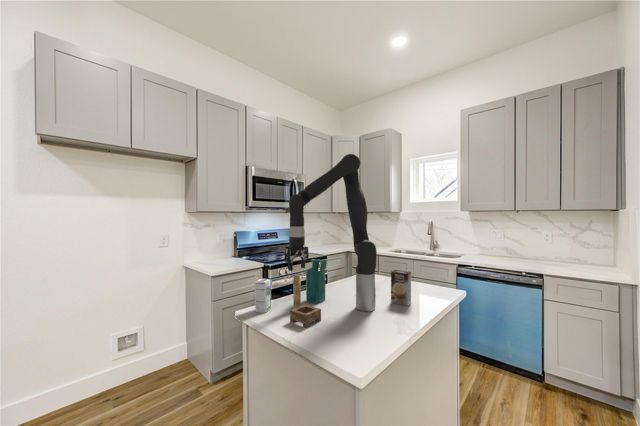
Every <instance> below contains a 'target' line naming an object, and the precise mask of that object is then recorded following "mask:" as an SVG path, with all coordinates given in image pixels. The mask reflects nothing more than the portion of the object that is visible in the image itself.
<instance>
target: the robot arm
mask: <svg viewBox="0 0 640 426" xmlns="http://www.w3.org/2000/svg"><path fill="white" fill-rule="evenodd" d="M360 166H361V160H360V157H359V156H358V155H357V154H355V153H354V154H353V153H348V154H346V155H344V156H343V157H342V159H341V160H340V161H339V162H338V163H336V165H334V166H333V167H332V168H330V170H328V171H327V172H326V173H324V174H322V175H321V176H319V177H318V178H316V179H315V180H313V181H312V182H310V183H309V184H308V185H306V186H305V187H304V188H303V189H302V190H301V191H300V192H298V193H295V194H293V195H291V196H290V198H289V200H288V203H289V204H288V206H289V207H288V208H289V231H288V237H289V238H288V246H289V248H285V249H284V259H283V260H284V262H285V263H287V270H288V271H290V272H293V270H294V269H293V268H294V266H293V265H294V264H293V263H294V260H296V258H298V257H299V259H300V268H301V269H305V268H306V260H307V259H309V247H308V246H305V245H306V244H305V242H306V240H305V239H306V237H305V235H306V234H305V233H306V231H305V215H304V209H305V206H306V205H308V203H310V202H311V201H312V200H314V199H316V198H317V197H319V196H320V195H322V194H323V193H324V192H325V191H327V190H328V189H330V187H332V185H334V184H335V183H336V182H338V181H340V180H341V179H342V178H343V182H344V188H345V198H346V199H345V200H346V206H347V212H348V216H349V222H350V227H351V231H352V237H353V238H352V241H353V250H354V253H355V254H356V256H357V265H356V267H355V309H356V310H358V311H360V312H373V311H375V310H376V269H377V259H378V258H377V256H378V255H377V252H378V251H377V247H376V245H375V243H374V242H373V241H371V240H370V239H369V234H368V229H367V228H368V227H367V224H368V208H367V206H368V205H367V201H366V198H365V194H364V191H363V189H362V186H361V183H360V177H359V169H360Z"/></svg>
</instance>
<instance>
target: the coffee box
mask: <svg viewBox="0 0 640 426" xmlns="http://www.w3.org/2000/svg"><path fill="white" fill-rule="evenodd" d="M411 290H412V272H411V271H407V270H401V269H393V270H392V271H391V272H390V303H393V304H396V305H397V304H399V305H403V306H409V305H410V304H411V303H412V299H411V298H412V291H411Z"/></svg>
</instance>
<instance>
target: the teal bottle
mask: <svg viewBox="0 0 640 426" xmlns="http://www.w3.org/2000/svg"><path fill="white" fill-rule="evenodd" d="M310 262H311V267H309V268H307V269H306V271H305V286H306V287H305V288H306V290H305V296H306V297H305V300H306V302H308V303H314V304H320V303H322V302H325V300H326V268H327V262H328V261H327V259H322V260H321V259H318V258H313V259H310Z"/></svg>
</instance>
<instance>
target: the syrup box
mask: <svg viewBox="0 0 640 426" xmlns="http://www.w3.org/2000/svg"><path fill="white" fill-rule="evenodd" d="M271 289H272V288H271V278H259V279H258V280H256V281H254V304H255V305H254V308H255V313H256V312H257V313H268V312H269V310H271V308H272V299H271V298H272V295H271V294H272V293H271V291H272V290H271Z"/></svg>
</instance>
